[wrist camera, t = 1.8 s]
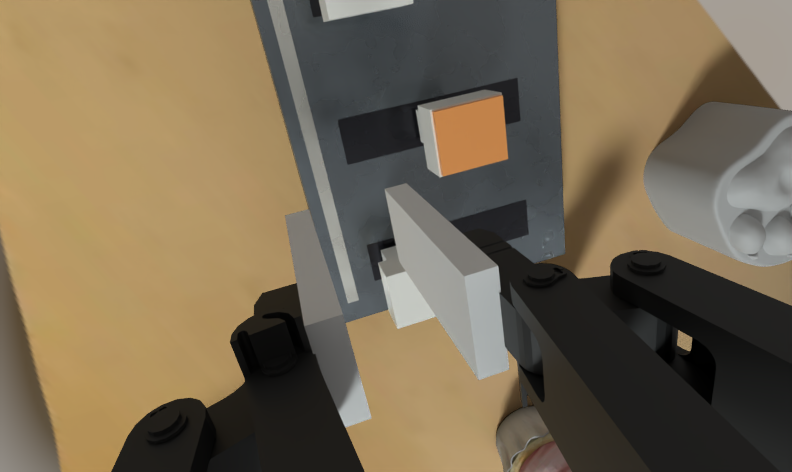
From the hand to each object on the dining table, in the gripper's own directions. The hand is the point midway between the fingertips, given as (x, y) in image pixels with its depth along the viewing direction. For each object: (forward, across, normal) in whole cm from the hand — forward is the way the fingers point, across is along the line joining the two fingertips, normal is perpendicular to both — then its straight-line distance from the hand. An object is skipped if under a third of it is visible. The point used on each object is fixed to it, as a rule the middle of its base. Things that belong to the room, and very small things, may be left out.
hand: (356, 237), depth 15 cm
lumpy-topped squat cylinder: (+19, -34, +12) cm, 41 cm away
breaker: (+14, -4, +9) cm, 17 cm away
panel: (+19, -8, 0) cm, 20 cm away
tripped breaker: (+14, -8, 0) cm, 16 cm away
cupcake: (+19, -14, +34) cm, 41 cm away
